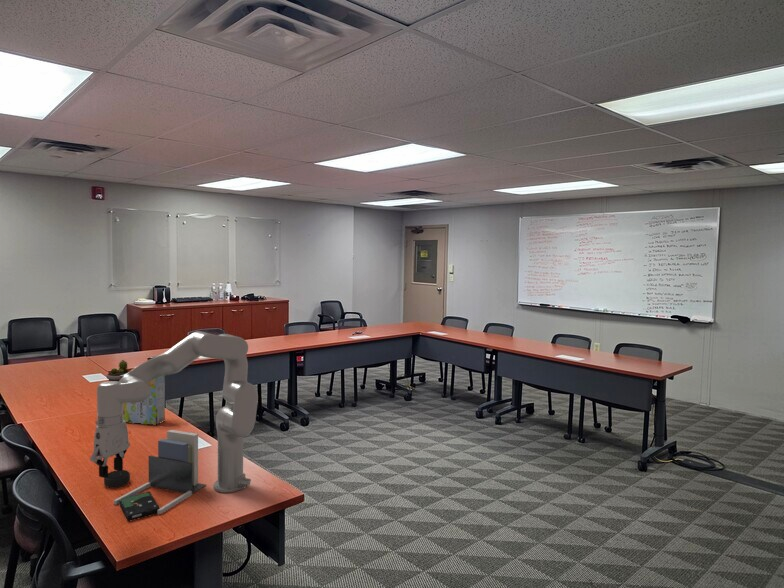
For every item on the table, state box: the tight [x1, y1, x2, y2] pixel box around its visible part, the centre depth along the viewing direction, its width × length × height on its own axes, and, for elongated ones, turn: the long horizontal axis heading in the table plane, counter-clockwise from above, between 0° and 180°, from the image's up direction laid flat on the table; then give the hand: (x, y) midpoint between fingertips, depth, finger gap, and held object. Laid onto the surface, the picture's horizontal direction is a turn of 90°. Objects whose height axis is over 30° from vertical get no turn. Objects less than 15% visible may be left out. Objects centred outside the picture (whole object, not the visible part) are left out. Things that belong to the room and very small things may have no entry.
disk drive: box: [118, 491, 161, 522], centre depth 179 cm, size 10×3×15 cm
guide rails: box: [113, 481, 193, 515], centre depth 186 cm, size 21×16×2 cm
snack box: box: [120, 374, 166, 426], centre depth 271 cm, size 22×9×26 cm, turn 80°
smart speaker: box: [103, 469, 131, 489], centre depth 198 cm, size 9×9×4 cm
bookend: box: [148, 455, 207, 495], centre depth 197 cm, size 20×8×12 cm, turn 72°
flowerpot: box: [106, 359, 131, 382], centre depth 335 cm, size 14×15×20 cm
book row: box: [157, 429, 199, 486], centre depth 197 cm, size 13×7×20 cm, turn 72°
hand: (111, 472), depth 167 cm, fingers open, 5 cm apart
